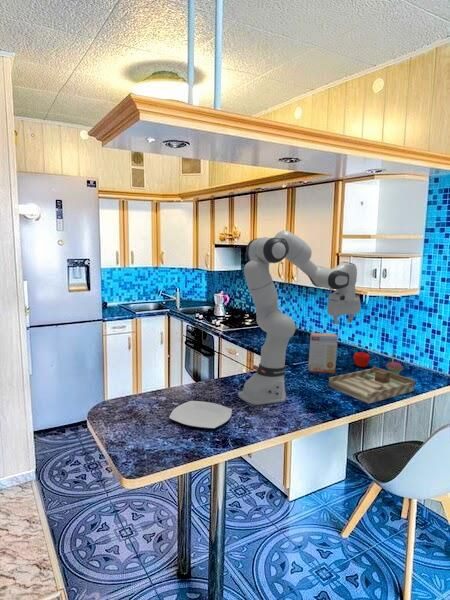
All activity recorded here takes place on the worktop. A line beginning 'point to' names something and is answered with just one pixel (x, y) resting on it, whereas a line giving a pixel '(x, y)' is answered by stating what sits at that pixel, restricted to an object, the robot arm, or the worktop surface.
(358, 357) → the apple
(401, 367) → the cupcake
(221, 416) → the plate
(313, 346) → the cracker box
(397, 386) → the trap deck
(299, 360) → the worktop surface
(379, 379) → the walnut block
